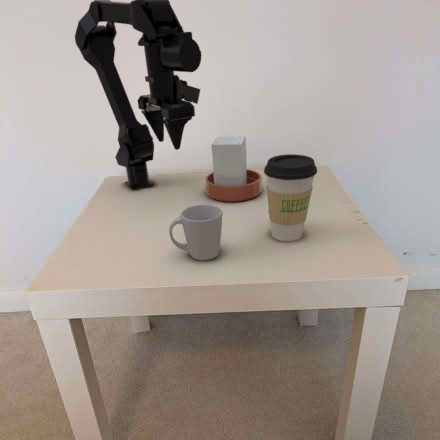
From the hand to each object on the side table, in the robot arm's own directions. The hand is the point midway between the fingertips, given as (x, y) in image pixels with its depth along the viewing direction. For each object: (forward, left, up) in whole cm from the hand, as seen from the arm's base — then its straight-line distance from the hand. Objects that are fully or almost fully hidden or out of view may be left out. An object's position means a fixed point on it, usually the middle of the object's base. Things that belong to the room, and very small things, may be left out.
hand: (169, 145), depth 94 cm
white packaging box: (+6, +13, -13) cm, 19 cm away
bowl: (+6, +14, -13) cm, 20 cm away
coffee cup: (+33, +10, -13) cm, 37 cm away
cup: (+30, -9, -13) cm, 34 cm away
